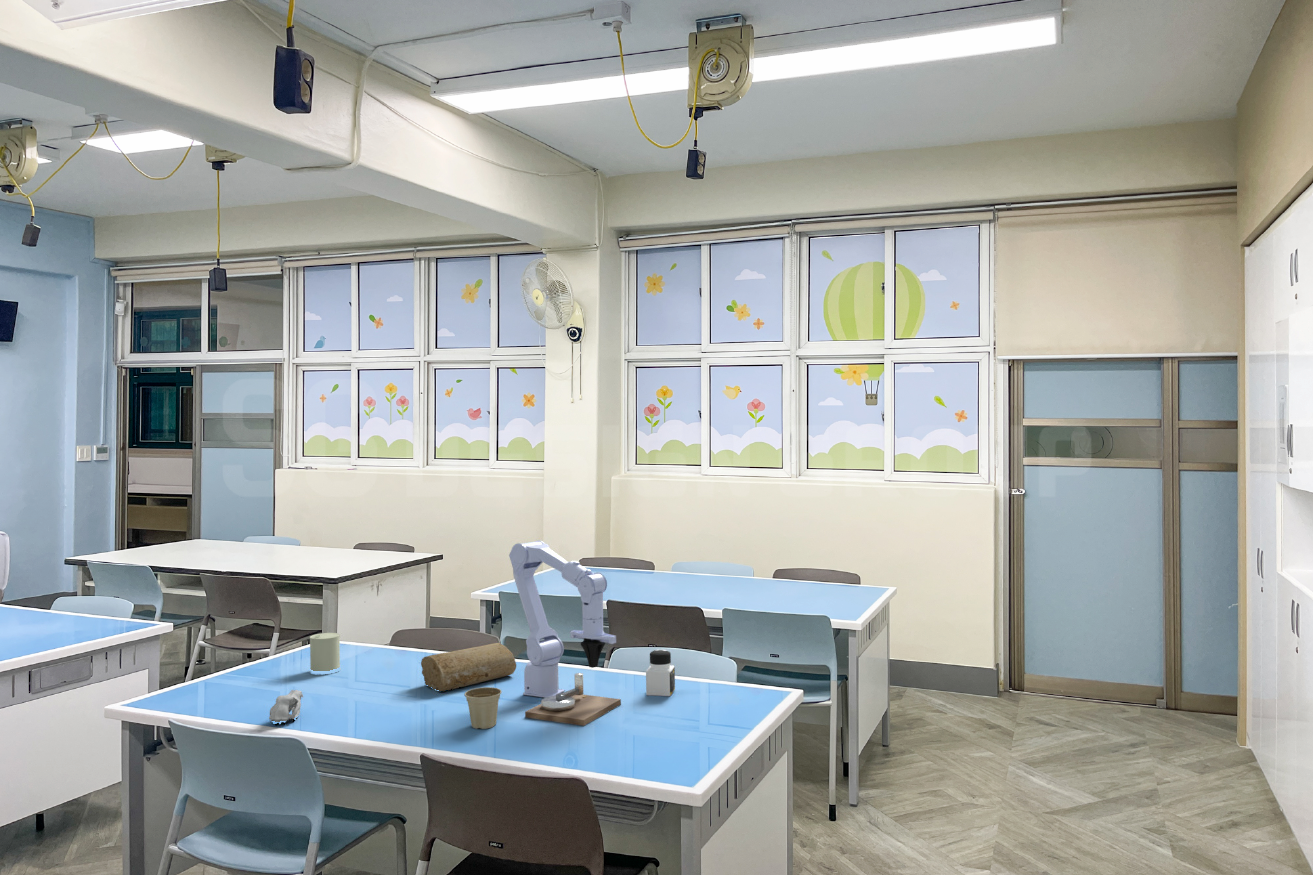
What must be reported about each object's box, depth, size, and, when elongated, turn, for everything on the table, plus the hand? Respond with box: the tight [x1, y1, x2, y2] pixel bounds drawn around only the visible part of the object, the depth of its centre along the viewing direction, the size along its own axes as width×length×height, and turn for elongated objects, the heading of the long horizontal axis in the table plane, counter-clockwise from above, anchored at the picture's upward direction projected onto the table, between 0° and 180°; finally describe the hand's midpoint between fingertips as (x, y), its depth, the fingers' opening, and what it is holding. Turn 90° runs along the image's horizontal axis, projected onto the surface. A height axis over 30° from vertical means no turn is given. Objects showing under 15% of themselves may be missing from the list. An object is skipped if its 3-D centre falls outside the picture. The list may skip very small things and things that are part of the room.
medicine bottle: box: [645, 649, 676, 697], centre depth 262 cm, size 7×7×12 cm
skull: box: [268, 689, 304, 722], centre depth 242 cm, size 8×9×12 cm
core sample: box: [420, 642, 517, 692], centre depth 278 cm, size 14×26×10 cm, turn 135°
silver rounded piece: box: [540, 672, 584, 711], centre depth 247 cm, size 15×9×6 cm, turn 146°
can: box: [309, 632, 341, 671], centre depth 292 cm, size 9×9×12 cm
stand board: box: [524, 693, 622, 727], centre depth 246 cm, size 18×20×2 cm
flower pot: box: [463, 687, 502, 730], centre depth 235 cm, size 9×9×9 cm
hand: (593, 666), depth 252 cm, fingers closed
